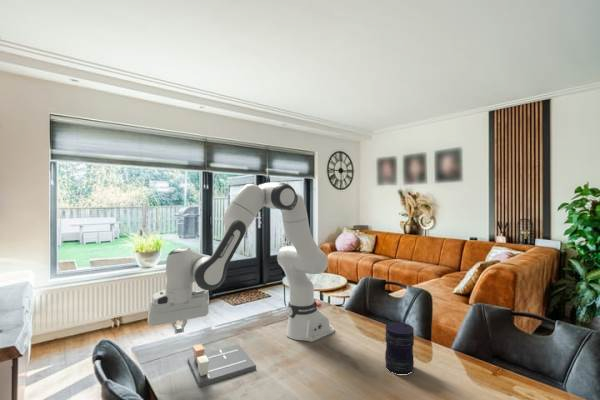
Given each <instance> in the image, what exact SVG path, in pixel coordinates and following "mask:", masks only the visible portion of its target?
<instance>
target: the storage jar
mask: <svg viewBox="0 0 600 400" xmlns="http://www.w3.org/2000/svg"><path fill="white" fill-rule="evenodd" d="M414 331H415V330H414V327H413V326H412V325H410V324H408V323H406V322H401V321H390V322H388V323H386V325H385V339H384V340H385V344H386V345H385V353H384V355H385V356H384V359H385V364H384V365H386V366H385V369H386V368H387V369H388V370H389V371H390V372H389V371H388V370H387V369H386V370H387V371H388V372H389V373H391V372H393V373H396V374H408V373H410V372H412V370H413V371H414V363H415V362H414V354H413V353H414V352H413V351H414V350H413V349H414V344H415V342H414V340H415V336H414V335H415V333H414ZM393 373H392V374H393Z"/></svg>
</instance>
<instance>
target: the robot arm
mask: <svg viewBox="0 0 600 400" xmlns="http://www.w3.org/2000/svg"><path fill="white" fill-rule="evenodd" d="M306 206H307V205H306V203H305V201H304V198H303V196H302V195H301V194H299V193H297V192H296V190H295V189H294V187H293V186H292V185H290V184H288V183H285V182H280V181H271V182H268V181H265V182H261V183H260V184H258V185H257V184H253V183H248V184H246V185H244V186H243V187H242V188H241V189H240V190H239V192H238V193H236V195H235V196H234V197H233V199H232V200H231V202H230V203H229V205H228V206H227V208H226V210H225V212H224V215H223V219H222V220H223V225H224V234H223V236H222V238H221V240H220V242H219V244H218V245H217V247H216V248H215V250H214V251H213V253H212V255H208V254H204V253H200V252H197V251H195V250H193V249H191V248H190V247H179V248H176V249H173V250H171V251H170V252H169V253H168V255H167V258H166V263H165V276H166V283H165V289H162V290H160V291H158V292H156V293H153V294H152V295H151V303H150V305H149V307H148V312H147V324H148V325H149V326H150V327H155V326H161V325H164V324H165V325H166V324H170V323H171V326H172V327H173V329H174V334H175V335H176V334H180V333H181V334H182V333H184V332H185V327H186V325H187V323H188V320H192V319H196V318H203V317H206V316H208V314H209V312H210V311H209V302H208V301H209V299H210V295H209V292H208V291H212V290H216V289H218V288H219V287H221V285H223V283H224V282H225V280H226V276H227V271H228V268H229V267H228V266H229V264H230V262H231V261H232V259H233V257H234V255H235V254H236V251H237V249H238V248H239V247H240V244H241V242H242V240H243V238H244V236H245V234H246V233H247V231H248V230H249V228H250V226H251V224H253V222H254V220H255V219H256V217H257V215H258V213H259V211H261V209H262V208H264V207H265V208H267V209H273V210H274V209H275V210H280V213H281V218H282V224H283V230H284V236H285V238H286V239H287V241H288V242H289V243H290V244H291V245H287V246H282V247H281V248H280V249H279V250H278V252H277V255H276V261H277V263H278V265H279V266H280V267H281V269H282V270H283V272H284V274H285V277H286V279H287V283H288V291H289V292H288V294H289V296H288V298H289V299H288V300H289V301H288V302H287V303H288V304H287V305H288V306H287V311H288V321H287V326H286V330H285V335H286V336H287V337H288V338H290V339H293V340H296V341H297V340H298V341H307V342H315V341H317V340H320V339H322V338H324V337H327V336H328V335H330V334H333V333H334V332H335V328H334V326H333V325H331V324H330V321H329V317H328V316H327V314H325V313H324V312H322V311H321V310H319V309H320V308H321V307H322V304H321V302H318V301H315V296H314V295H315V285H314V283H313V282H312V281H311V280H310V279H309V278H308V275H321V274H323V273H324V272H326V270H327V268H328V263H329V262H328V256H327V254H326V252H324V251H323V250H322V249H320V247H319V246H318V245H317V243H316V241H315V239H314V238H313V236H312V232H311V229H310V223H309V217H308V216H309V215H308V211H307V207H306ZM307 274H308V275H307ZM193 283H196V285H197V287H199V289H202V290H197V291H193ZM318 308H319V309H318ZM177 322H182V323H181V325H180V326H177Z"/></svg>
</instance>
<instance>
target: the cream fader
mask: <svg viewBox="0 0 600 400" xmlns="http://www.w3.org/2000/svg"><path fill="white" fill-rule="evenodd" d="M197 363H198V371H199V373H200V375H201V376H203V375H206V374H208V366H209V360H208V358H207V356H206V355H204V356H201V357H197Z"/></svg>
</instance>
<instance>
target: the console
mask: <svg viewBox="0 0 600 400" xmlns="http://www.w3.org/2000/svg"><path fill="white" fill-rule="evenodd" d="M204 355H206V356H207V358H208V360H209V366H208V374H206V375H203V376H201V375H200V373H199V371H198V363H196V361H195V359H194V355H192V356H187V364H188V365H189V367H190V370H191V372H192V374H193V377H194V378H195V380H196V383H197V386H198V387H199V388H201V387H204V386H206V385H209V384H213V383H216V382H220V381H223V380H226V379H230V378H232V377H235V376H239V375H241V374H245V373H248V372H251V371H252V372H253V371H254V370H255V371H256V370H257V364H256V363H255V362H254V361H253V359H252V358H251V357H250V356H249V355H248V354H247V352H246V351H245V350H244V349H243V348H242V346H241V345H240V344H234V345H231V346H226V347H222V348H219V349H215V350H211V351H208V352H207V351H206V352H204V354H203V356H204Z"/></svg>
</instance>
